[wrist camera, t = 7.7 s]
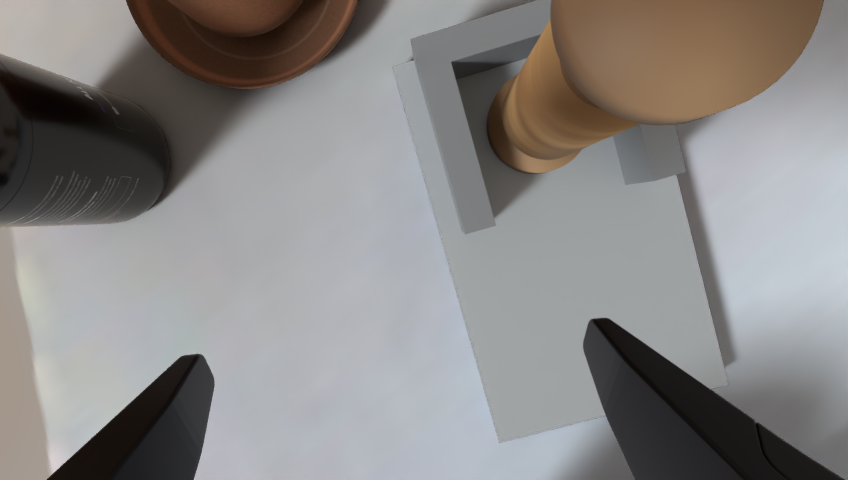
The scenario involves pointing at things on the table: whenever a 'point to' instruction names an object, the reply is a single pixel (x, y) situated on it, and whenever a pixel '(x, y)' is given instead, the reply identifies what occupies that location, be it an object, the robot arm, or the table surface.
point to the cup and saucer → (243, 36)
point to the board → (551, 233)
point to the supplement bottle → (73, 152)
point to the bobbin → (640, 70)
